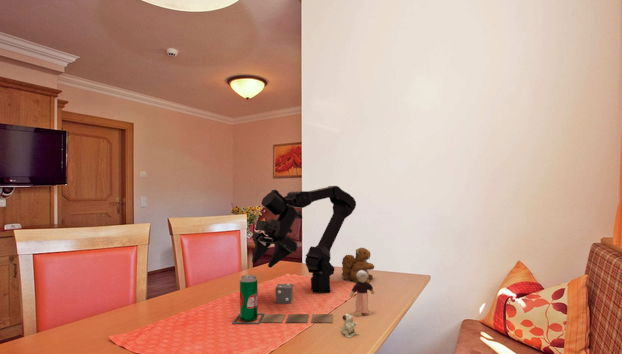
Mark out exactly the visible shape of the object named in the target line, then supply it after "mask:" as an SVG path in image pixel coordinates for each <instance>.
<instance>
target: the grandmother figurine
mask: <svg viewBox="0 0 622 354" xmlns="http://www.w3.org/2000/svg"><path fill="white" fill-rule="evenodd" d="M356 275H357V278H358V280H359V282H358V283H357V282H355V285H354V286H353V287H352V289H351V290H350V294H349V297H350V298H353V297H354V295H355V293H356V297H355V313H354V316H355V317H362V316H369V315H370V311H369V292H370V293H371V295H374V294H375V290H374V289H373V288H374V287H373V285H371V284H370V283H367V282H365V281H366V280H367V277H368V274H367V273H366V272H365V271H363V270H360V271H358V272H357V274H356ZM368 291H369V292H368Z"/></svg>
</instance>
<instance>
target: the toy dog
mask: <svg viewBox="0 0 622 354" xmlns="http://www.w3.org/2000/svg"><path fill="white" fill-rule="evenodd" d="M342 320H343V321H342V322H343V325H342V326H341V325H340V326H339V329H340V331H341V333H342V334H343V335H344V336H345V338H348V339H352V337H353V336H356V335H359V333H358V332H356V331H355V327H356V326H358V322H357V321H356V322H355V321H354V317H353V315H352V314H351V313H345V314H344V315H343V316H342Z"/></svg>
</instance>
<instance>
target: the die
mask: <svg viewBox="0 0 622 354" xmlns="http://www.w3.org/2000/svg"><path fill="white" fill-rule="evenodd" d="M293 294H294V292H293V283H277V284H276V286H275V304H283V305H285V304H286V305H287V304H290V305H291V304H292V302H293V299H294V297H293V296H294V295H293Z"/></svg>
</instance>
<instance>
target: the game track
mask: <svg viewBox="0 0 622 354" xmlns="http://www.w3.org/2000/svg"><path fill="white" fill-rule="evenodd" d="M258 316H260V317H259V319H258V321H250V322H245V321H240V322H239V321H238V319H240V312H239V313H238V314H237V316H236V317H235V318H234V320H233V321H232V323H231V325H260V324H282V323H283V322H284V319H285V317H286V314H285V313H263V312H261V313H260V312H258ZM309 316H310V314H309V313H290V314H289V313H288V315H287V317H286V321H285V324H308V322H309ZM310 323H311V324H333V323H334V315H333V314H332V313H312V314H311V319H310Z"/></svg>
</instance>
